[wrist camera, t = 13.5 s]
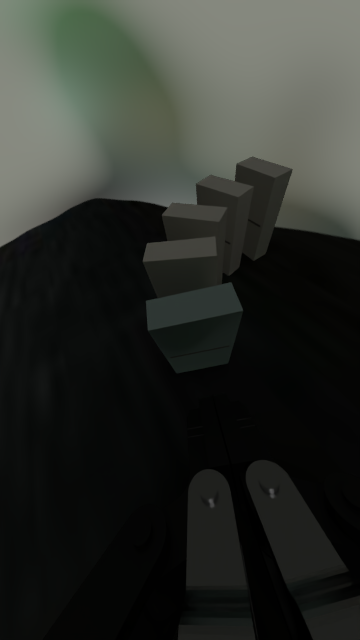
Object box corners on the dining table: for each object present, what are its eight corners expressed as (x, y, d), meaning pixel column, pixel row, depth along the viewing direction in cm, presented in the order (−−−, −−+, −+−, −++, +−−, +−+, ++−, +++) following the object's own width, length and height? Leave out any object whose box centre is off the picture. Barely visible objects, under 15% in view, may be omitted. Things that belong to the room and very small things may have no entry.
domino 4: (228, 276, 22) (238, 197, 14) (200, 259, 24) (195, 183, 17) (239, 267, 22) (253, 186, 15) (210, 251, 25) (210, 174, 17)
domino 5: (253, 260, 23) (275, 177, 15) (228, 242, 25) (236, 163, 18) (265, 253, 23) (292, 169, 15) (240, 236, 26) (252, 156, 18)
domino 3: (228, 363, 16) (243, 311, 9) (176, 373, 17) (147, 331, 9) (222, 343, 18) (230, 281, 10) (173, 353, 18) (146, 300, 10)
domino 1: (215, 296, 21) (218, 222, 13) (178, 286, 22) (161, 215, 15) (221, 284, 22) (227, 207, 14) (185, 275, 23) (172, 202, 16)
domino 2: (214, 324, 19) (216, 256, 11) (169, 325, 20) (142, 262, 12) (213, 308, 20) (215, 236, 12) (170, 310, 21) (147, 242, 13)
